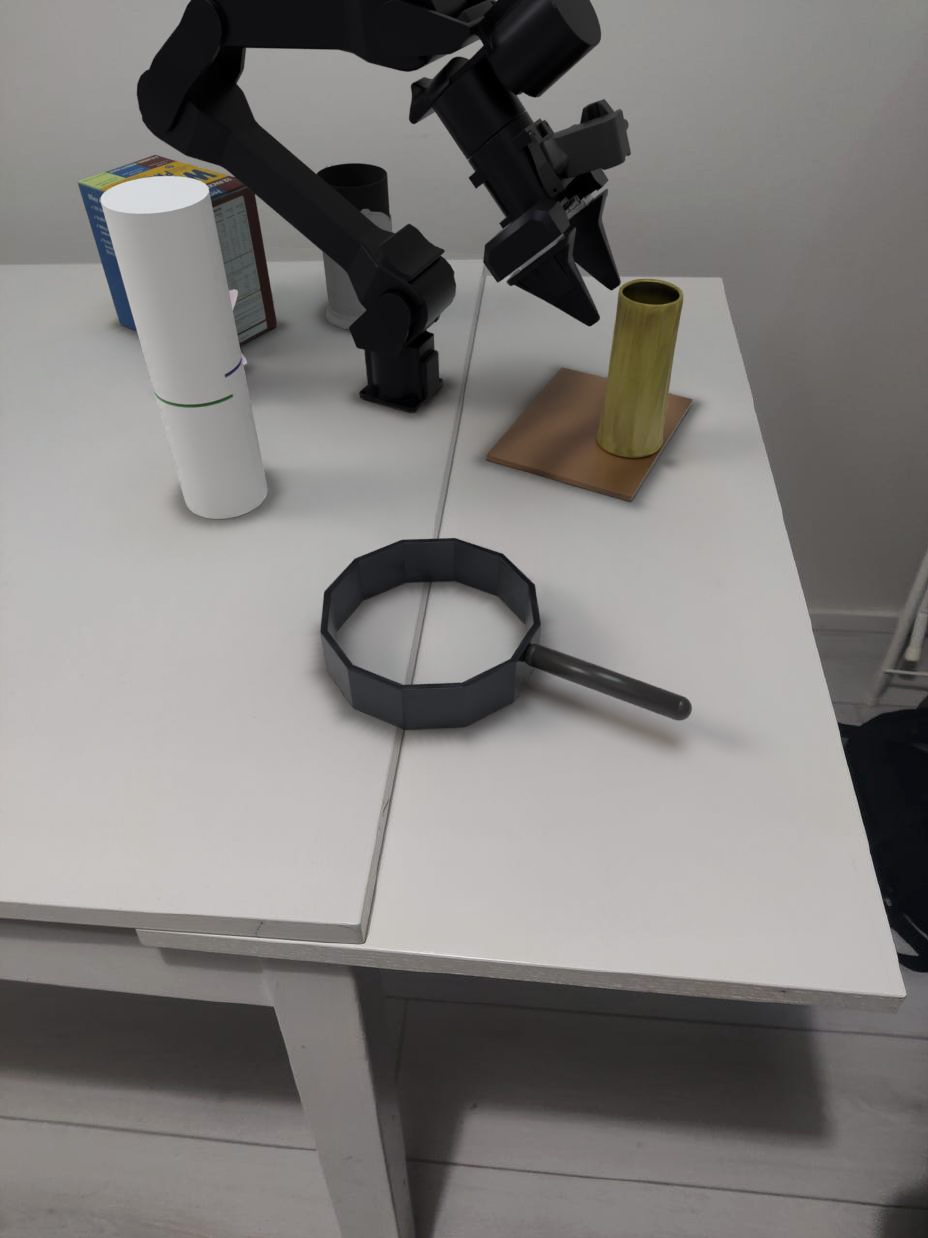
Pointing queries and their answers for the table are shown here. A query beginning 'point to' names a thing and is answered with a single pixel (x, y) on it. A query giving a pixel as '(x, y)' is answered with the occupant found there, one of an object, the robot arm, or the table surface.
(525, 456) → the wooden board
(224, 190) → the protein box
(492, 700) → the pan
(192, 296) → the cylindrical container
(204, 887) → the table surface
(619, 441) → the vase
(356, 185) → the glass holder
